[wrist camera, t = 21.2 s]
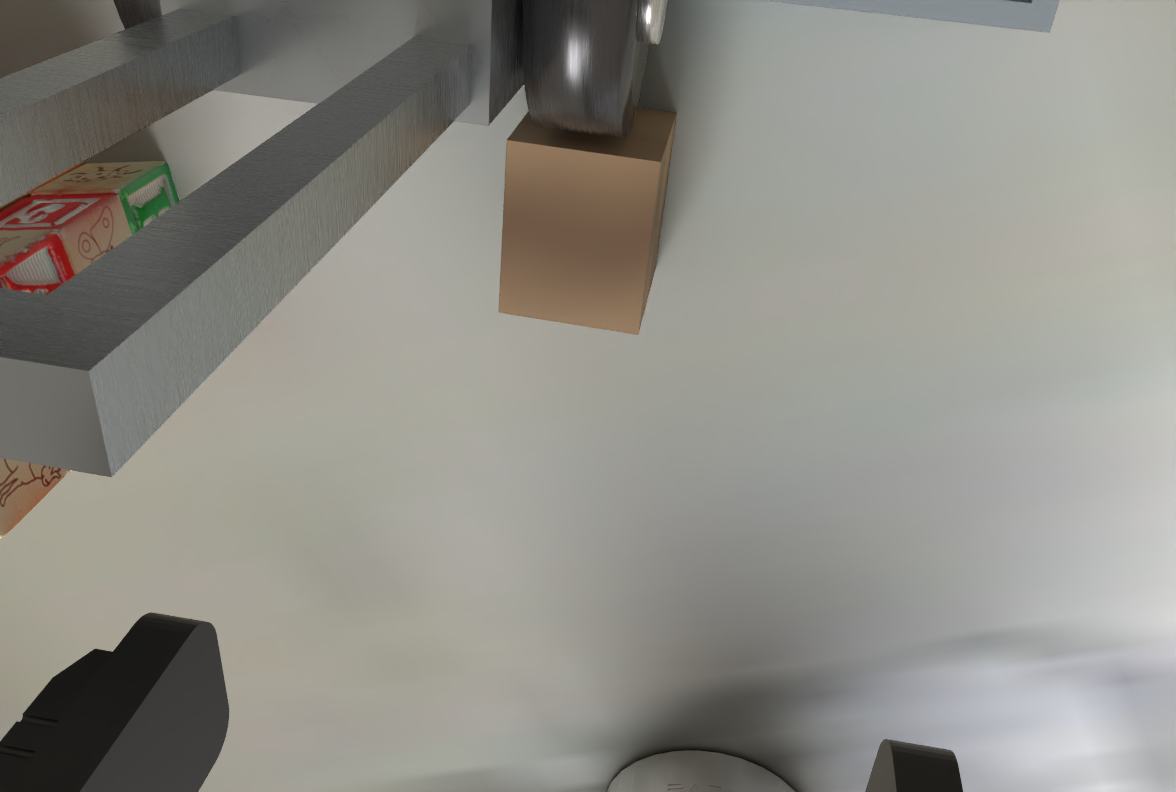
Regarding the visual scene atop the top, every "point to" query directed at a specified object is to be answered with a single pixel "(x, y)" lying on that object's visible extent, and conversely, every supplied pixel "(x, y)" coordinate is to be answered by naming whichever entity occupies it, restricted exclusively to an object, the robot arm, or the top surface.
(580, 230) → the block
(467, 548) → the top surface
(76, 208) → the stack of blocks
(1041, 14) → the tray
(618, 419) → the top surface
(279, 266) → the trolley
